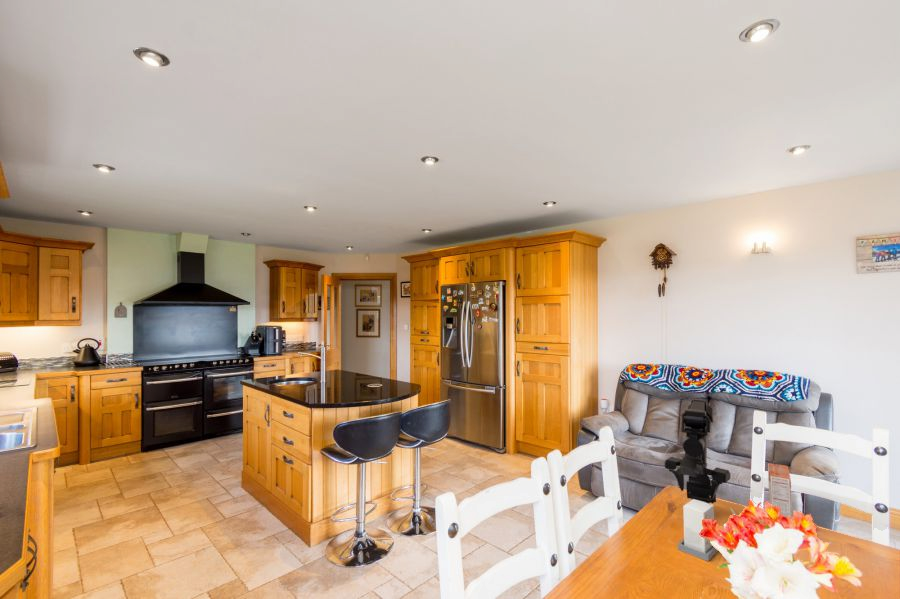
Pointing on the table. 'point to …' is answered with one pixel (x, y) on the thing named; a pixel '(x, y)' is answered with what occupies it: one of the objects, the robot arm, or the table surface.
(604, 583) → the table surface
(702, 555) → the tray
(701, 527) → the small box
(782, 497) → the cracker box
